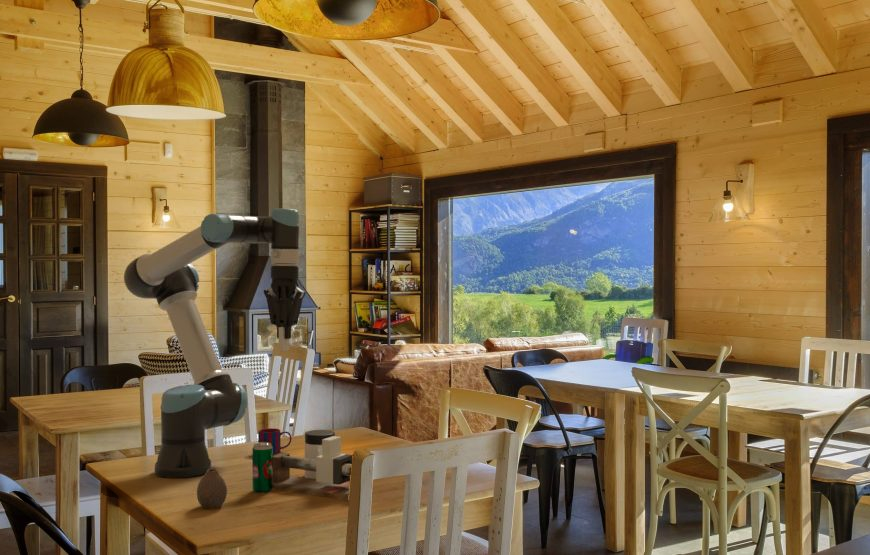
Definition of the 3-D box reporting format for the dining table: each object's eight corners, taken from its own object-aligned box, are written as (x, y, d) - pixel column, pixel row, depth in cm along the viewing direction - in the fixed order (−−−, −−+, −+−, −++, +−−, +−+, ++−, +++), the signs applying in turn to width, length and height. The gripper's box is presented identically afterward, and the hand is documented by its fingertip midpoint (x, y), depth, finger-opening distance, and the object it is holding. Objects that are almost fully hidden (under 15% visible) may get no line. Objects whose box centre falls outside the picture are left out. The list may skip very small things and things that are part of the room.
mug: (260, 450, 264) (260, 428, 264) (292, 450, 264) (292, 428, 264) (256, 454, 257) (256, 432, 257) (289, 454, 258) (289, 432, 257)
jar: (311, 481, 226) (311, 436, 225) (298, 475, 232) (298, 431, 232) (341, 477, 230) (341, 433, 230) (328, 471, 237) (328, 428, 237)
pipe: (277, 468, 222) (277, 456, 222) (284, 465, 225) (284, 453, 225) (354, 478, 211) (354, 466, 211) (361, 476, 214) (361, 463, 214)
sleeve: (316, 481, 215) (316, 439, 214) (330, 476, 220) (330, 435, 220) (333, 483, 212) (333, 441, 212) (346, 478, 218) (346, 437, 218)
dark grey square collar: (332, 483, 212) (333, 459, 212) (346, 478, 218) (346, 454, 218) (339, 484, 211) (339, 459, 211) (353, 479, 217) (353, 454, 217)
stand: (265, 487, 219) (265, 458, 219) (289, 479, 228) (289, 451, 228) (350, 500, 208) (350, 469, 208) (372, 490, 217) (372, 461, 216)
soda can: (250, 489, 218) (250, 442, 218) (270, 487, 220) (270, 441, 220) (254, 494, 213) (254, 446, 213) (274, 492, 215) (274, 445, 215)
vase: (199, 512, 198) (199, 474, 197) (195, 504, 204) (194, 468, 204) (229, 508, 200) (229, 471, 200) (224, 501, 207) (224, 465, 207)
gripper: (257, 264, 233) (256, 350, 234) (295, 265, 227) (294, 353, 228) (274, 264, 240) (273, 347, 240) (312, 265, 234) (311, 351, 234)
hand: (283, 350), depth 234 cm, fingers closed
